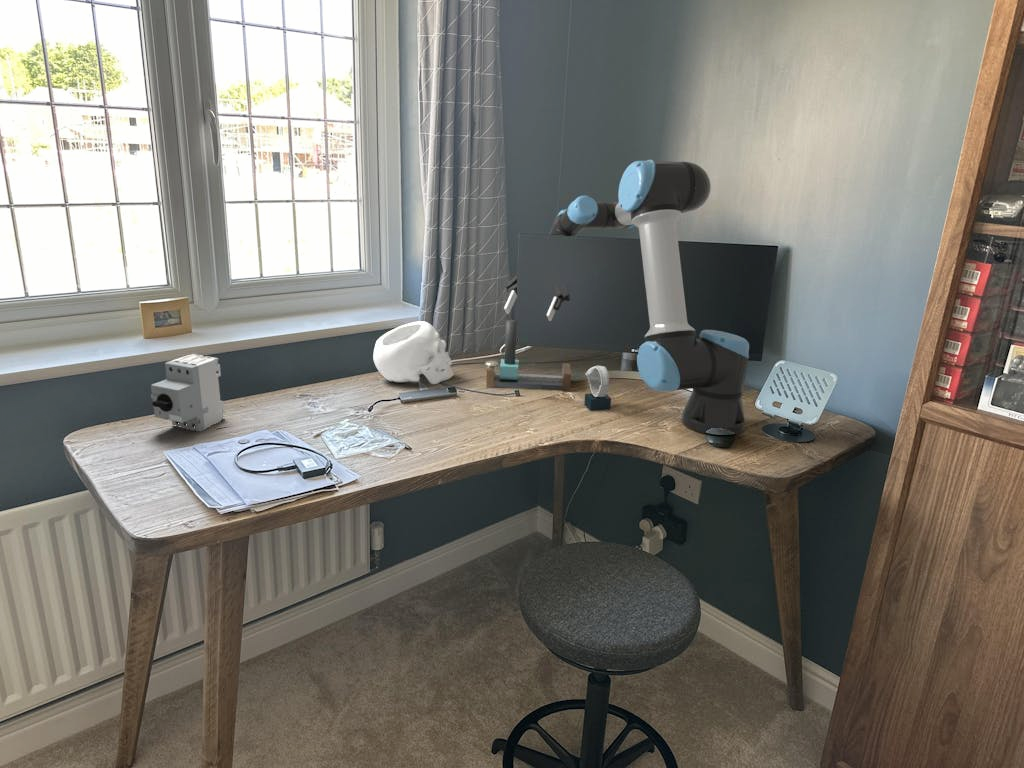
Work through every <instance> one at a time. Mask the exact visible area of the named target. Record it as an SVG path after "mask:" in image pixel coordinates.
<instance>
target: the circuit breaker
mask: <svg viewBox="0 0 1024 768" xmlns="http://www.w3.org/2000/svg"><path fill="white" fill-rule="evenodd" d="M218 361H219V358H218V357H213V356H208V355H206V356H204V355H200V354H195V353H190V354H188V355H185V356H182V357H179V358H175V359H173V360H169V361H166V362H165V363H164V367H165V374H166V375H165V376H166V378H165V379H163V380H161V381H158V382H155V383H152V384H151V385H150V391H151V394H150V398H151V399H152V406H153V411H154V417H155V418H158V419H162V420H168V421H171V423H172V424H171V425H172V426H173V425H176V426H181V427H184V428H187V429H186V430H189V429H192V430H191V431H194V430H196V431H195V432H198V431H200V432H202V431H204V430H207V429H208V428H207V427H209V428H210V426H211V425H213V424H215V425H217V424H218V423H217V422H219V423H221V422H222V421H223V420H222V419H225V420H226V417H224V415H225V404H224V400H221V393H220V384H219V383H220V382H219V381H220V380H219V377H221V376H222V372H221V364H219V362H218ZM221 420H222V421H221ZM220 421H221V422H220ZM178 423H179V424H178ZM184 423H185V424H184ZM216 423H217V424H216ZM186 424H187V426H185V425H186ZM193 425H194V426H195V428H194V426H193ZM213 426H214V425H213ZM211 427H212V426H211ZM184 428H183V429H184ZM203 429H204V430H203ZM201 430H202V431H201Z"/></svg>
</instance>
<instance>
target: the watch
mask: <svg viewBox="0 0 1024 768" xmlns="http://www.w3.org/2000/svg"><path fill="white" fill-rule="evenodd" d="M608 371H609V370H608V369H607V367H606V366H602V365H595V366H592V367H590V368H589V369H588V370H587V371H586V372H585V376H586V377H587V380H588V381H587V382H588V384H589V388H590V391H591V393H584V401H583V403H584V404H583V405H584V406H585V407H586V409H587V410H588V411H589V412H592V411H598V412H599V411H610V410H611V405H612V397H611V396H609V395H608V392H609V388H610V386H609V384H610V375H609V372H608ZM599 383H600V385H599Z"/></svg>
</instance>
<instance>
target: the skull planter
mask: <svg viewBox="0 0 1024 768" xmlns="http://www.w3.org/2000/svg"><path fill="white" fill-rule="evenodd" d="M446 347H447V343H446V340H444V339H441V338H440V333H439V332H438V331H437V330H436V328H435V327H434V326H433V325H432V324H431V323H429V322H428V321H421V320H418V321H413V322H409V323H405V324H402V325H400V326H398V327H395V328H394V329H391V330H389V331H387V332H385V333H384V334H383V335H381V336H380V337H379V338H378V339H376V341H375V345H374V349H373V353H372V354H373V355H372V359H373V363H374V365H375V367H376V369H377V371H378V372H379V373H380V375H382V376H383V377H384V378H385V379H386V380H387V381H389V382H391V383H392V382H395V383H407V382H411V381H412V382H416V383H417V382H419V381H420V375H424V377H425V378H426V379H427V380H428V382H429V383H430V384H431V385H437V384H439V383H441V382H444V381H447V380H450V379H452V377H453V376H454V375H455V374H454V372H453V370H452V368H451V365H452V364H453V360H452V359H451V357H450V356H449V351H446V350H445V349H446Z"/></svg>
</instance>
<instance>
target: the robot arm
mask: <svg viewBox="0 0 1024 768" xmlns="http://www.w3.org/2000/svg"><path fill="white" fill-rule="evenodd" d="M711 184H712V183H711V180H710V177H709V175H708V173H707V172H706V170H705V169H704V168H703V167H701V166H700V165H698V164H697V163H693V162H690V161H673V160H672V161H671V160H670V161H669V160H653V159H647V160H636V161H633V162H632V163H631V164H629V165H628V166H627V167H626V169H625V170H624V171H623V174H622V176H621V178H620V181H619V185H618V201H614V202H613V201H612V202H609V201H608V202H607V201H606V202H603V201H596V200H595V199H594V198H592V197H590V196H589V195H580V196H578V197H577V198H575V200H573V201H572V202H570V203H569V205H568V207H567V208H565V209H562V210H560V211H559V212H558V214H557V216H556V217H555V218H554V222H553V225H552V227H551V230H550V231H549V234H551V235H565V236H576V237H577V236H578V235H579V234H580V233H581V232H582V231H583V230H584V229H585V230H586V229H588V230H589V229H597V230H598V229H600V230H601V229H619V230H627V229H633V228H634V227H636V228H638V232H639V240H640V250H641V258H642V259H641V260H642V266H643V267H642V269H643V276H644V277H643V278H644V285H645V293H646V302H647V310H648V321H649V330H648V331H647V332H646V334H645V335H644V343H642V344H641V345H640V346H639V348H638V350H637V352H638V354H636V355H637V356H636V365H637V369H638V373H639V375H640V377H641V379H642V381H643V382H644V383H645V384H646V386H648V388H649V389H651V390H654V391H656V392H675V391H680V390H682V391H683V390H689V389H690V390H691V389H692V391H691V394H690V396H689V398H688V400H687V402H686V404H685V405H684V408H683V409H682V413H681V423H682V424H683V425H684V427H686V428H688V429H690V430H692V431H695V432H697V433H702V434H705V433H706V431H707V430H709V429H711V428H723V429H727V430H730V431H732V432H734V433H735V434H736V435H739V434H741V433H743V432H744V431H745V427H746V415H745V410H744V406H743V397H742V396H743V390H744V385H745V379H746V374H747V367H748V360H749V359H750V356H749V353H750V352H749V351H750V343H749V342H748V340H747V339H746V338H744V337H742V336H739V335H737V334H734V333H730V332H726V331H720V330H716V329H703V330H701V331H700V332H699V333H700V334H699V335H698V337H699V338H697V335H696V329H695V328H694V327H692V326H691V325H690V324H689V323H688V317H687V309H686V307H687V306H686V300H685V299H686V297H685V291H684V290H685V289H684V284H683V283H684V282H683V274H682V273H683V272H682V264H681V256H680V247H679V240H678V239H679V238H678V231H677V222H678V220H679V219H680V217H681V216H682V214H684V213H687V212H692V211H695V210H698V209H699V208H701V207H702V206H703V205H704V204H705V203H706V202H707V200H708V199H709V196H710V193H711V188H712V187H711ZM568 286H569V285H568ZM568 286H567V282H565V283H562V291H563V294H562V293H561V291H560V289H559V286H558V285H557V283H556V284H554V285H553V286H552V288H553V290H554V292H555V294H556V296H553V298H552V301H551V304H550V306H549V308H548V310H547V313H546V317H547V320H548V321H549V322H551V321H552V320H553V318H554V315H555V314H556V311H559V310H560V308H561V306H562V304H563V302H564V301H565V302H569V301H570V300H571V295H570V290H568ZM504 287H505V289H506V291H507V293H508V294H507V295H506V298H505V301H506V302H505V304H504V307H503V310H504V311H505V313H506V314H507V315H510V313H511V311H512V308H513V306H514V304H515V301H516V300H517V297H518V295H517V294H518V293H517V274H516V275H515V276H513V278H511V279H510V280H509V281H508V282H507V283H506V284H505V286H504ZM736 435H735V436H736Z"/></svg>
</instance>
